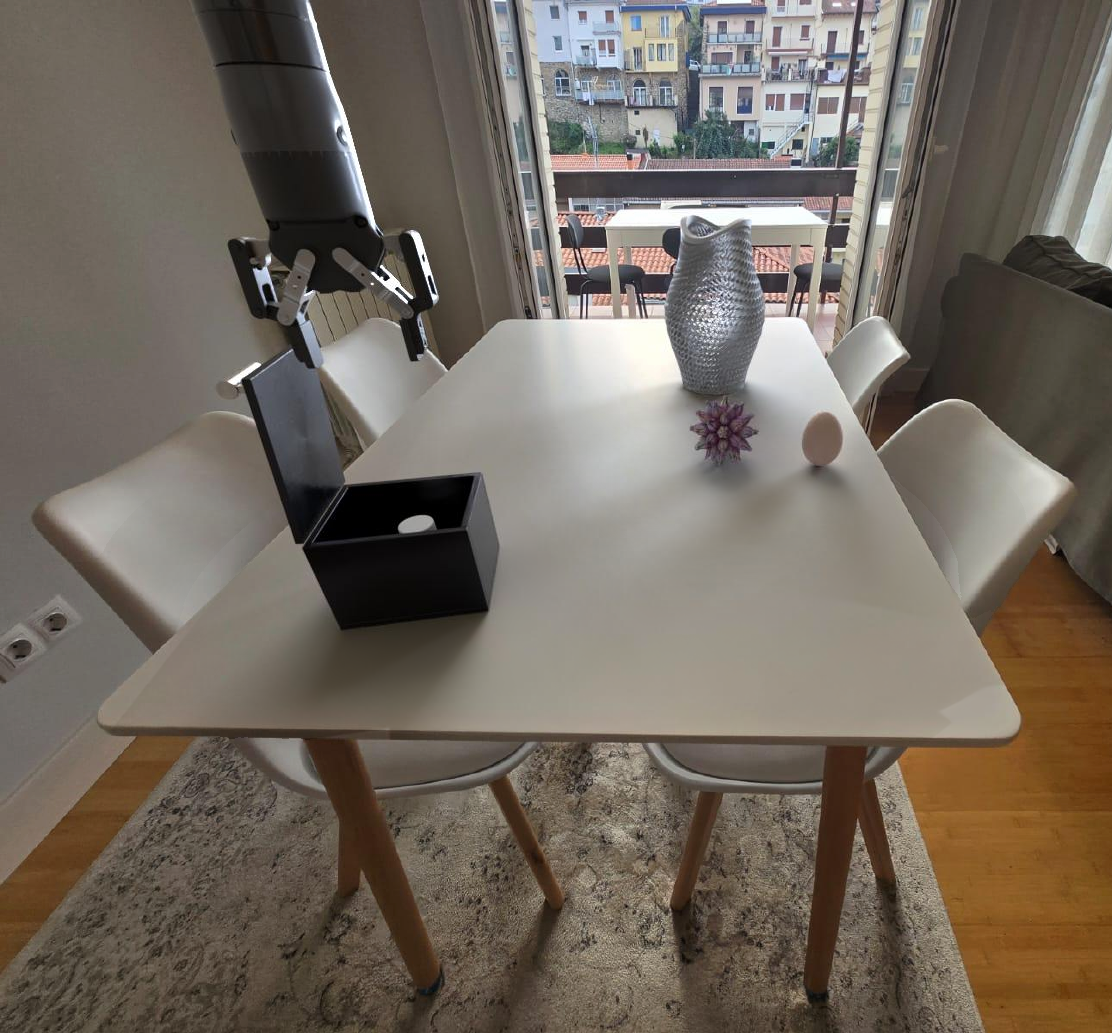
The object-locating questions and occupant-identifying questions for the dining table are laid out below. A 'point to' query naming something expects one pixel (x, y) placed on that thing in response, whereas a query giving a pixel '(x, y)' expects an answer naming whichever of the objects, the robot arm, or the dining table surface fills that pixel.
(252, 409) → the box lid
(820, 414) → the egg
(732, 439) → the flower
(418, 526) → the supplement bottle
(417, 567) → the black box
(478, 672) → the dining table surface
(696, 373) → the vase
